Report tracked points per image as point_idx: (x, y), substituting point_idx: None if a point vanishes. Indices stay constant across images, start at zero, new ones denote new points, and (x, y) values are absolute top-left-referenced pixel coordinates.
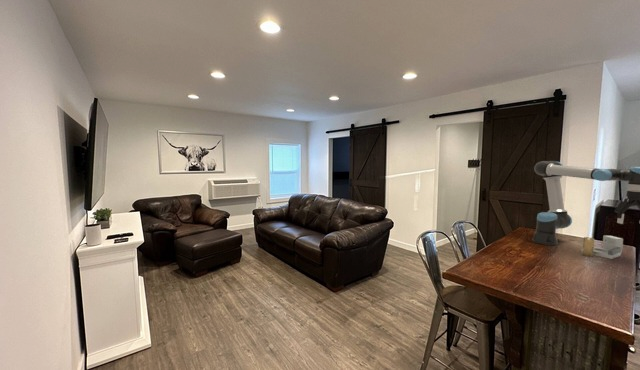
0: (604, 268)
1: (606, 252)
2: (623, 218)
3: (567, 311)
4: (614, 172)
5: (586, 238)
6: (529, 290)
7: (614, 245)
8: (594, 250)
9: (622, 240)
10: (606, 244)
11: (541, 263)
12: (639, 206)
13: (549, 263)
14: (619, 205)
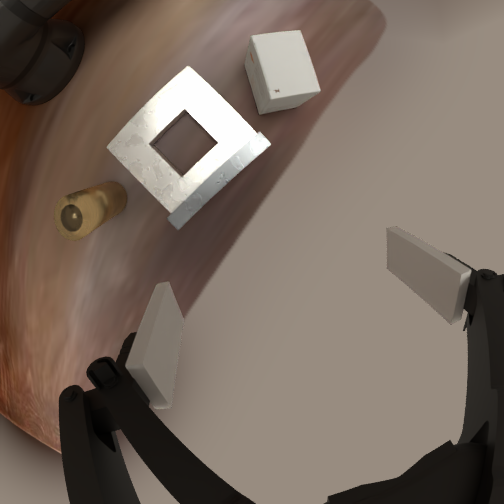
0: (109, 334)
1: (185, 178)
2: (177, 360)
3: (51, 447)
4: None
5: (58, 230)
6: (18, 417)
7: (263, 107)
8: (146, 161)
9: (313, 94)
10: (252, 71)
11: (2, 328)
12: (475, 410)
13: (12, 325)
14: (83, 496)
